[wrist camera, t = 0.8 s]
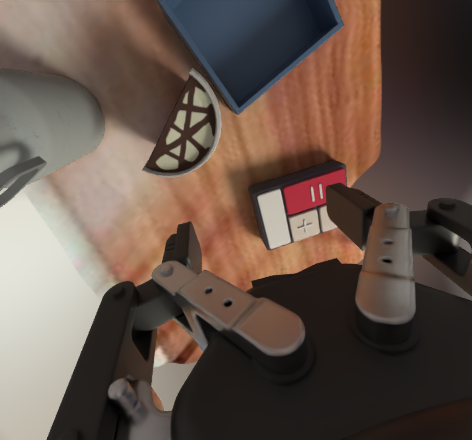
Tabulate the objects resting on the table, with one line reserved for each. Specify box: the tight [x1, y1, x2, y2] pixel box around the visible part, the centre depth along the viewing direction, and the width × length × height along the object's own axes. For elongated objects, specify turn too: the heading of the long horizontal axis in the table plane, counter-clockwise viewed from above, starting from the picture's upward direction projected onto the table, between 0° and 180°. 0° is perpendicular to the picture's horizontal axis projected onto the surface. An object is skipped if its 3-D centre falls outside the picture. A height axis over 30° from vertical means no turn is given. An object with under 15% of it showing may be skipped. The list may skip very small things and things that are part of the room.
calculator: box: [249, 160, 347, 250], centre depth 42 cm, size 11×4×15 cm
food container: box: [142, 68, 222, 177], centre depth 32 cm, size 12×6×10 cm, turn 148°
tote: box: [157, 0, 344, 115], centre depth 29 cm, size 14×15×5 cm
